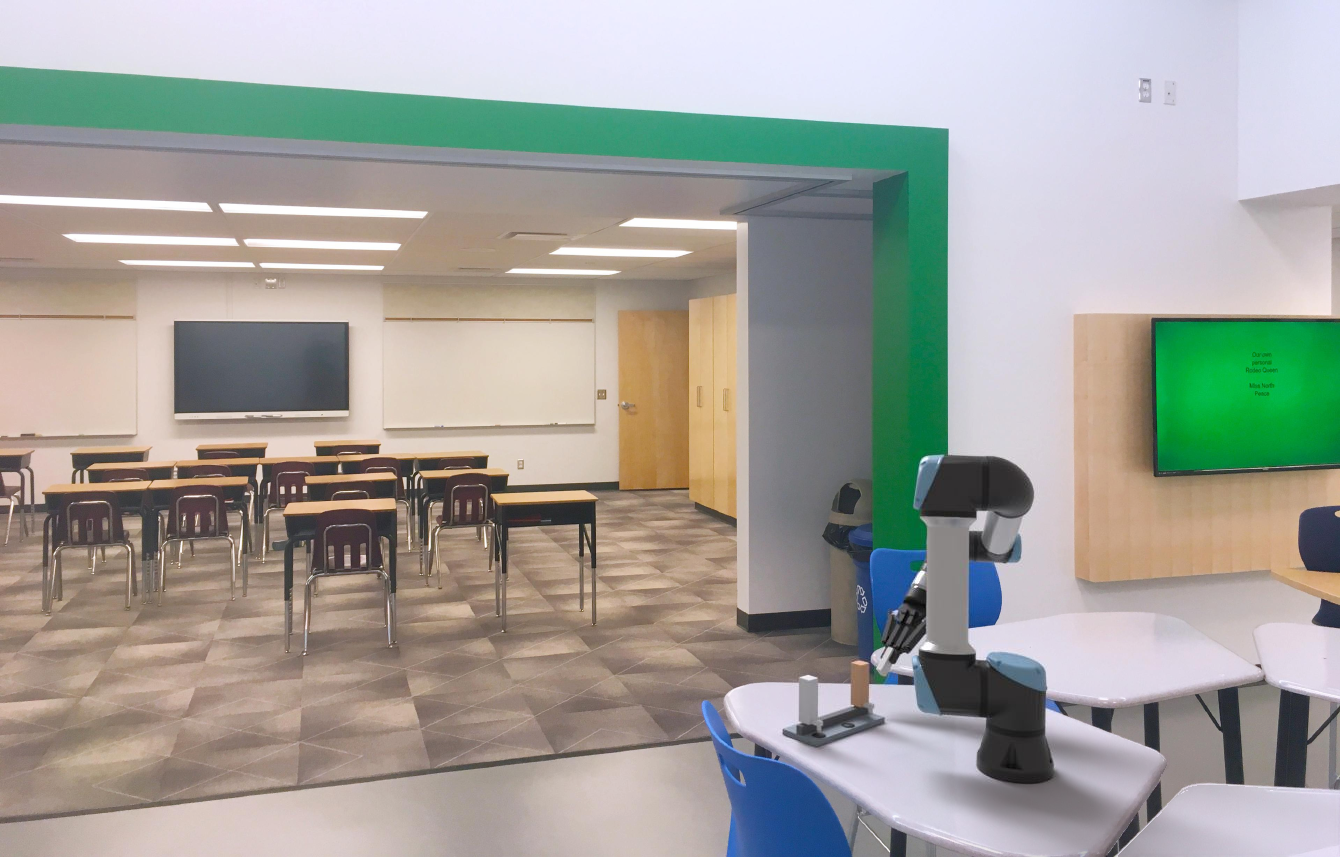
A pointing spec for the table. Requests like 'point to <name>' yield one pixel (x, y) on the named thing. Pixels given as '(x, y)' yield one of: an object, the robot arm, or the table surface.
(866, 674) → the post
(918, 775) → the table surface
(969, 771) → the table surface
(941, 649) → the robot arm
